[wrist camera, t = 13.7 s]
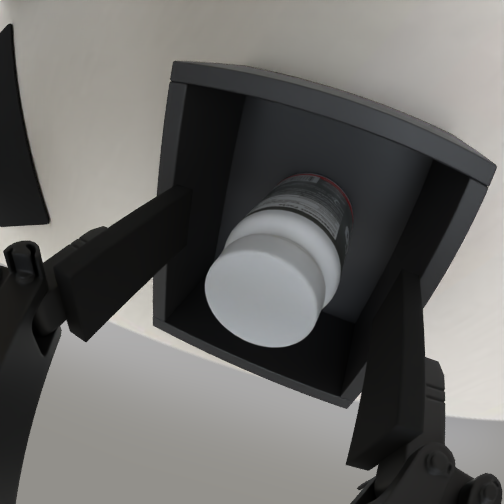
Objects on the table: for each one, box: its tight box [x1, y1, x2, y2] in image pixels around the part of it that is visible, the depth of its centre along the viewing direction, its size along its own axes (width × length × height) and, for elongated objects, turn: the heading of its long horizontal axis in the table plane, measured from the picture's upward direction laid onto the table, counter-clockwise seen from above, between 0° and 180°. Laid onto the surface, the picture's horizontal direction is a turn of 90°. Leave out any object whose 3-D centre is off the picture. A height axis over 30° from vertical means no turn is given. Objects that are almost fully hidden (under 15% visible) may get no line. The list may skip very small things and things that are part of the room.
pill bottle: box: [205, 173, 353, 347], centre depth 14 cm, size 5×5×8 cm
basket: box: [153, 61, 497, 409], centre depth 15 cm, size 14×12×7 cm
